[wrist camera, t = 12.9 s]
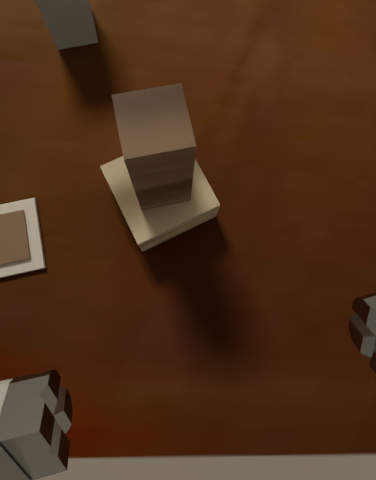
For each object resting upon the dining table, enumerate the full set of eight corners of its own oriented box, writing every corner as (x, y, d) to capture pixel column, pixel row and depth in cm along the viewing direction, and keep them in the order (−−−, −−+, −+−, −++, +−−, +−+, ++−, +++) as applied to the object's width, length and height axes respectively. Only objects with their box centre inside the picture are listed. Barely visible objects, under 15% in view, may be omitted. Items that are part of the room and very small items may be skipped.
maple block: (215, 217, 34) (220, 204, 31) (142, 252, 34) (137, 244, 30) (179, 150, 36) (179, 130, 32) (109, 182, 35) (100, 166, 31)
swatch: (46, 268, 33) (43, 267, 32) (-30, 284, 32) (-34, 283, 32) (35, 199, 34) (33, 196, 33) (-37, 213, 34) (-41, 211, 33)
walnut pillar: (190, 200, 31) (196, 146, 21) (141, 210, 30) (123, 159, 21) (180, 155, 31) (181, 82, 22) (132, 164, 31) (111, 94, 21)
